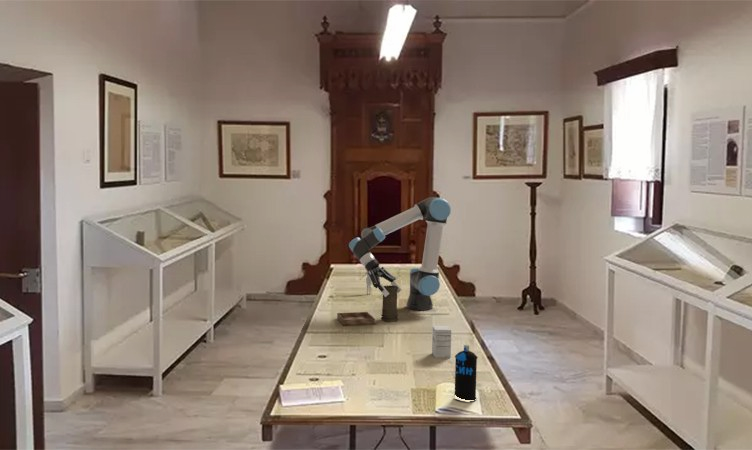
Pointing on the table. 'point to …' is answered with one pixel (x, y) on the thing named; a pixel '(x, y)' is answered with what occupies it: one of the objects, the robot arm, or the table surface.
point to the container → (390, 305)
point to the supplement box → (441, 342)
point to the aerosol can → (465, 374)
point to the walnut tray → (355, 318)
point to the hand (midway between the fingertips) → (393, 293)
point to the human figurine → (368, 282)
